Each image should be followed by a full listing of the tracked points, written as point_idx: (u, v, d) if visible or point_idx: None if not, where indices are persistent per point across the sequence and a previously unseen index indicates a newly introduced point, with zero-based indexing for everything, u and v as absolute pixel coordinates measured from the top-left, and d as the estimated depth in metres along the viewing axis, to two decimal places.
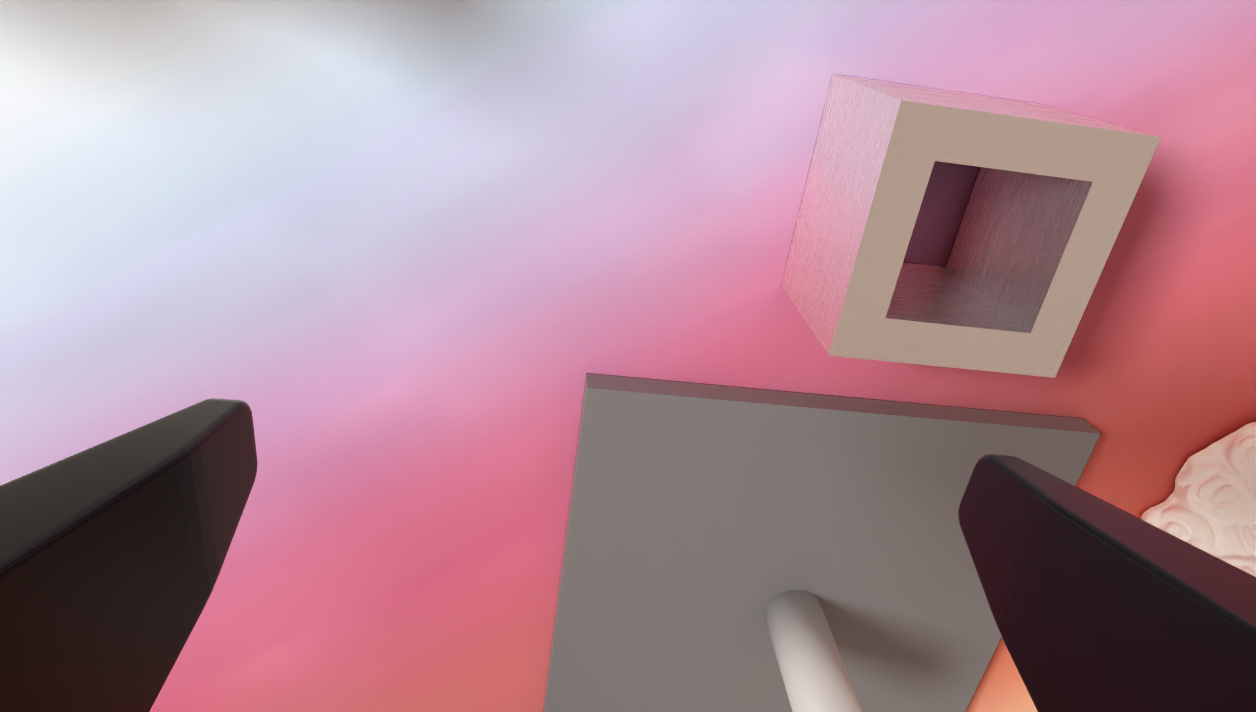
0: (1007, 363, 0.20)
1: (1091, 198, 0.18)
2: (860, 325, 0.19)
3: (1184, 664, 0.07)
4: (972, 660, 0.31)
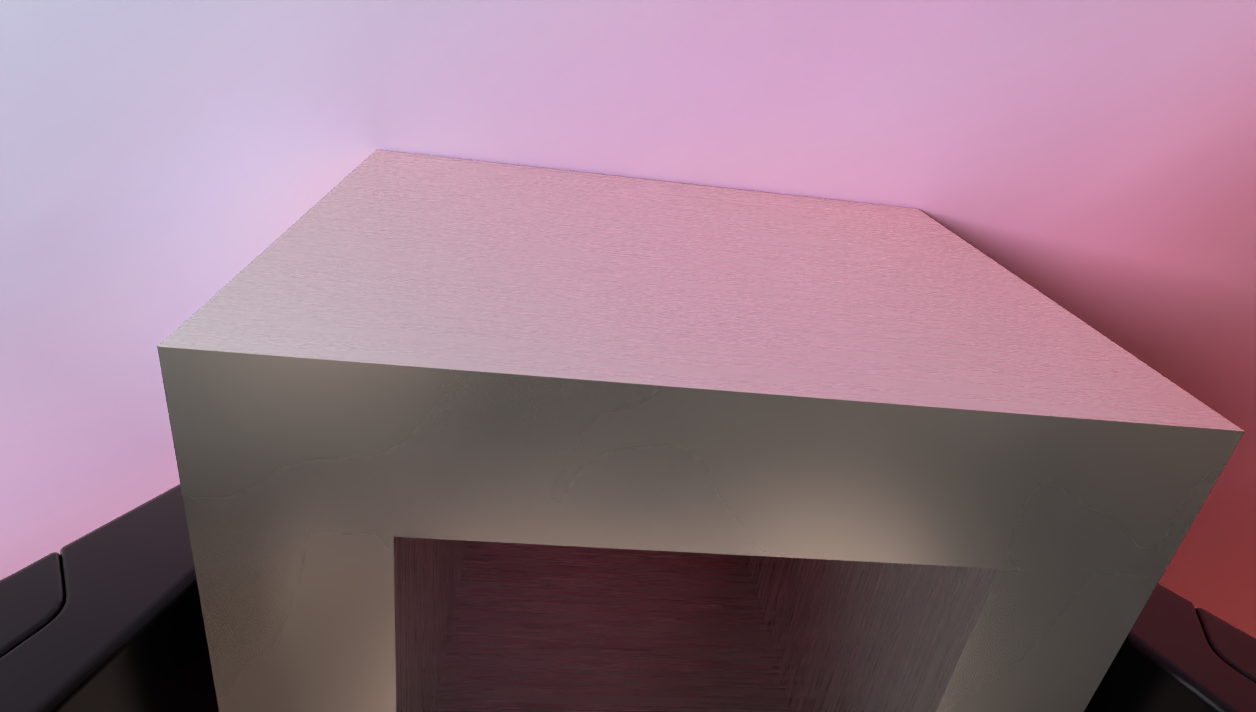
0: None
1: (999, 612, 0.05)
2: None
3: None
4: None
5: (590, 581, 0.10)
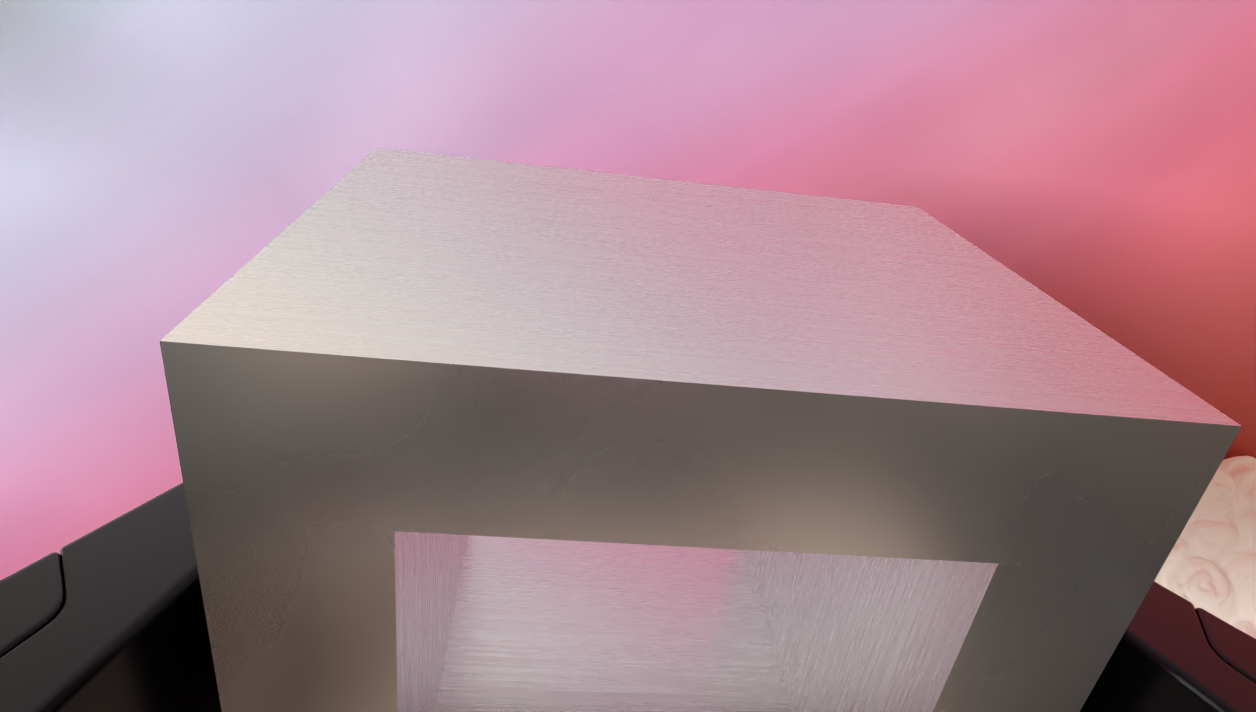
0: None
1: (999, 607, 0.05)
2: None
3: None
4: None
5: (590, 578, 0.10)
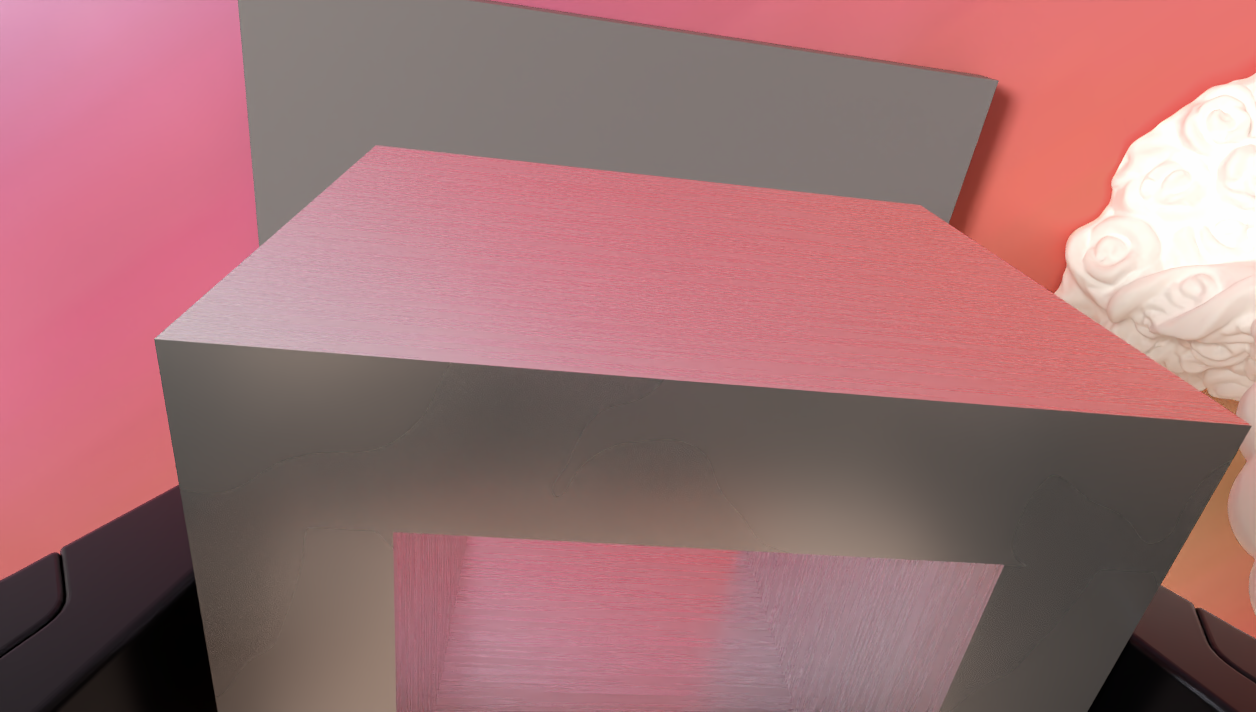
0: None
1: (1005, 608, 0.05)
2: None
3: None
4: None
5: (591, 579, 0.10)
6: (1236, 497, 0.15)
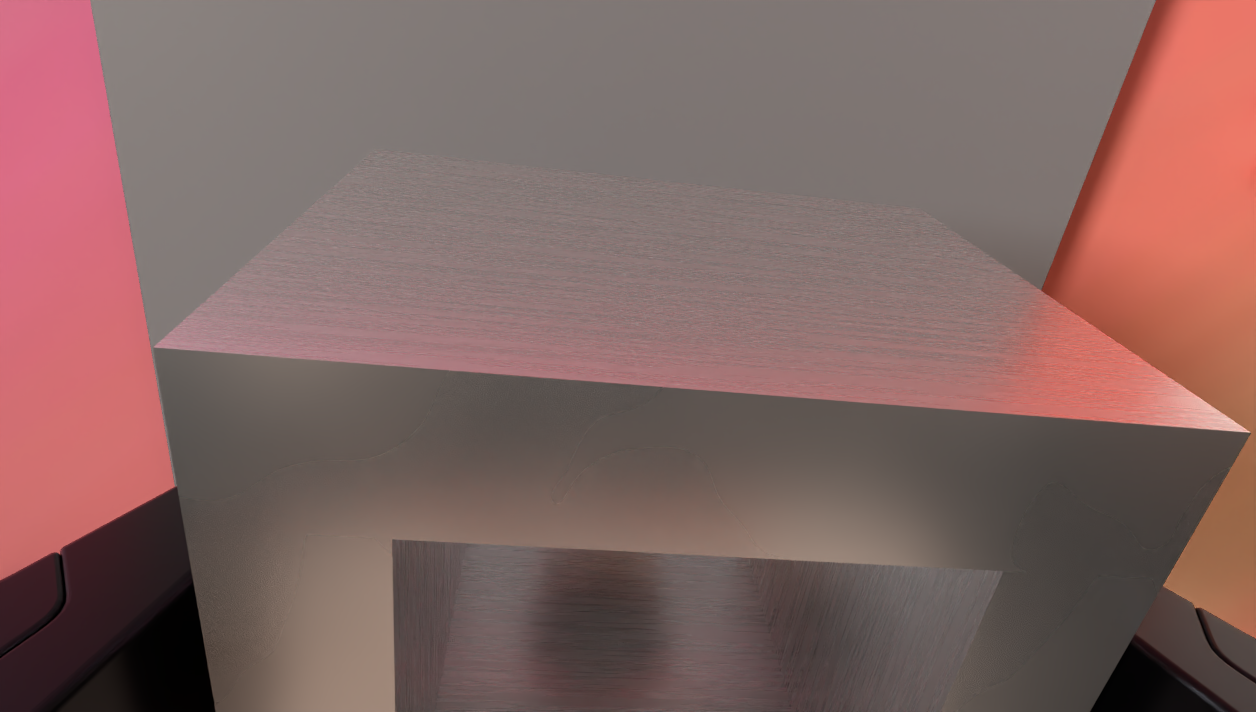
0: None
1: (1004, 616, 0.05)
2: None
3: None
4: None
5: (590, 583, 0.10)
6: None
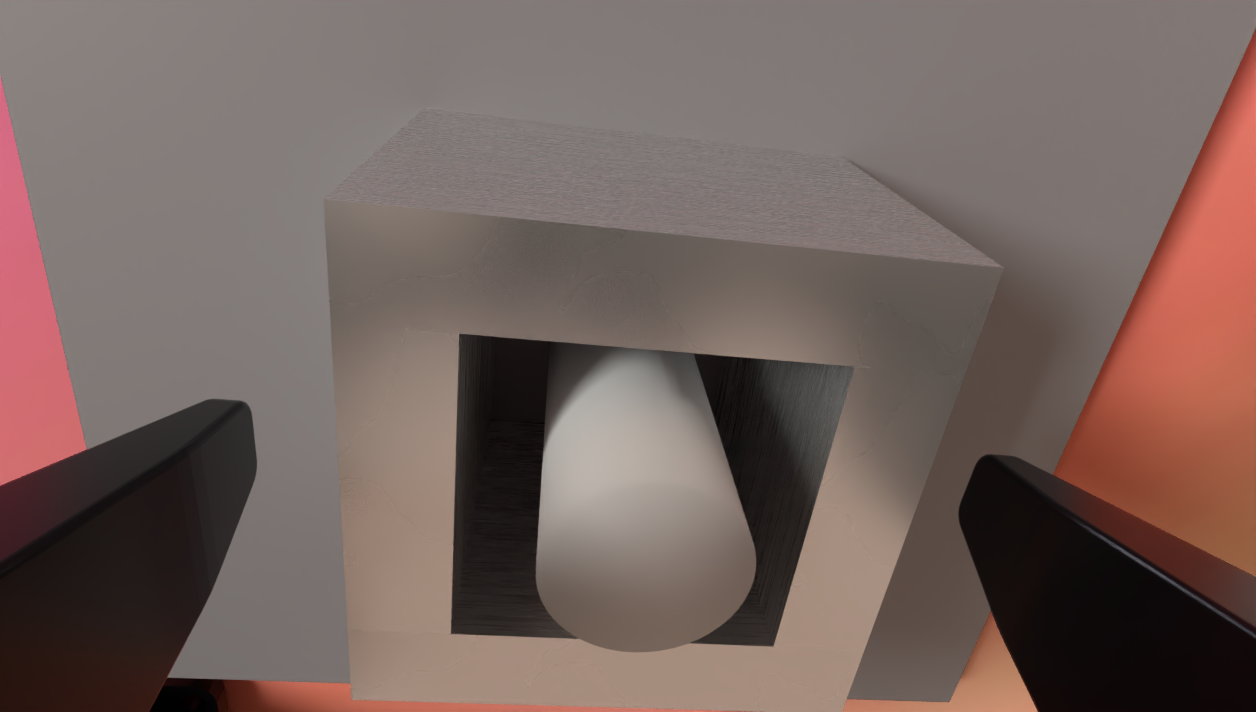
0: (737, 695, 0.10)
1: (858, 401, 0.08)
2: (401, 646, 0.09)
3: (1183, 664, 0.07)
4: None
5: None
6: None
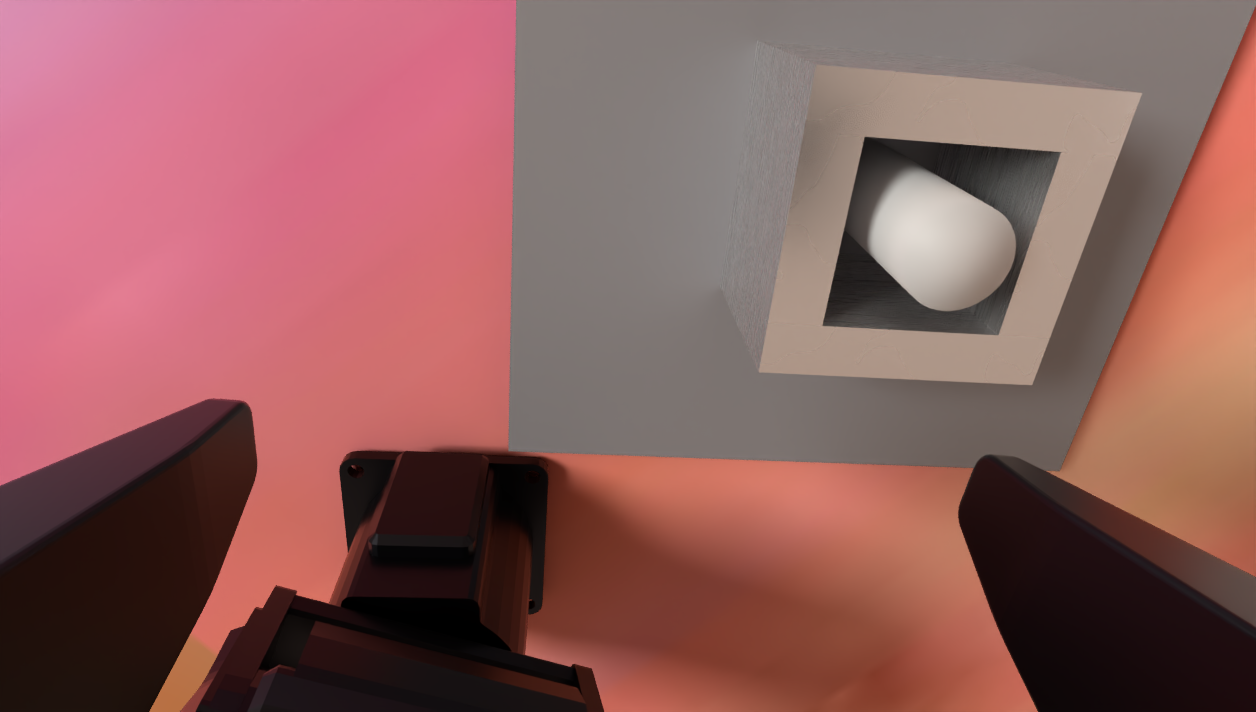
0: (973, 371, 0.17)
1: (1061, 172, 0.15)
2: (793, 335, 0.16)
3: (1184, 664, 0.07)
4: (1117, 276, 0.22)
5: (841, 266, 0.20)
6: None
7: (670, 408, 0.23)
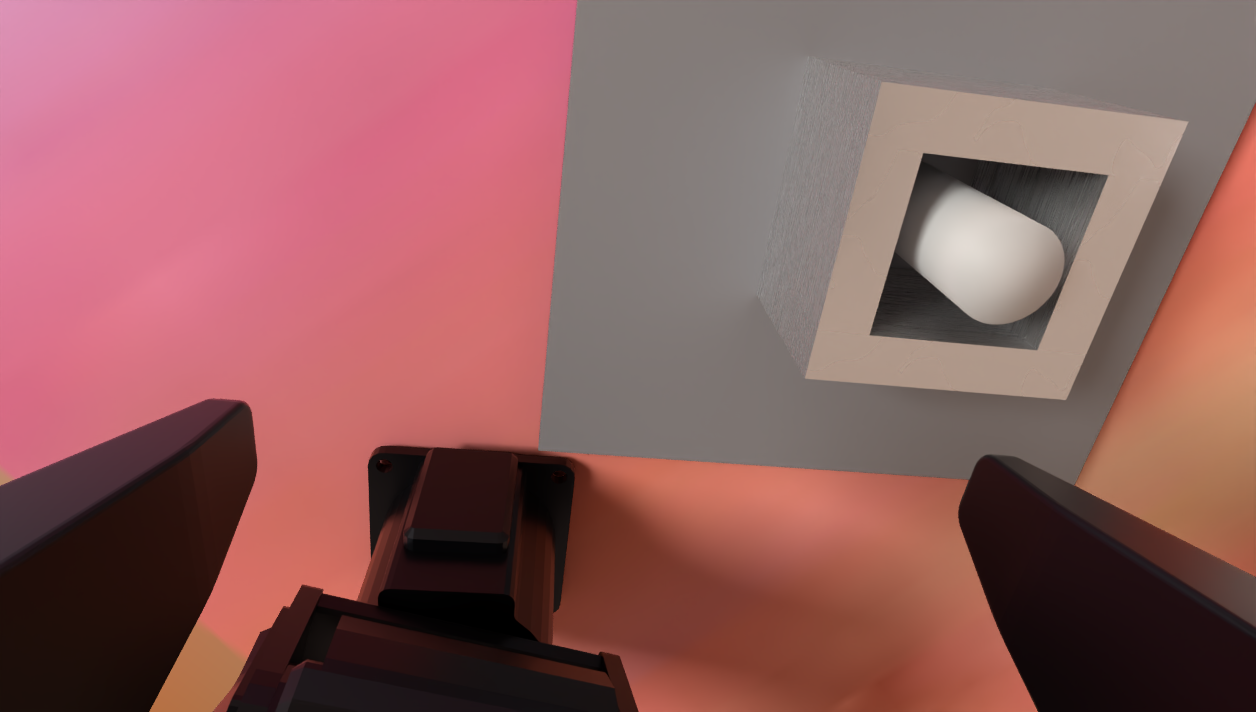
0: (1011, 384, 0.18)
1: (1107, 195, 0.16)
2: (841, 343, 0.17)
3: (1183, 664, 0.07)
4: (1139, 298, 0.22)
5: None
6: None
7: (700, 413, 0.23)
